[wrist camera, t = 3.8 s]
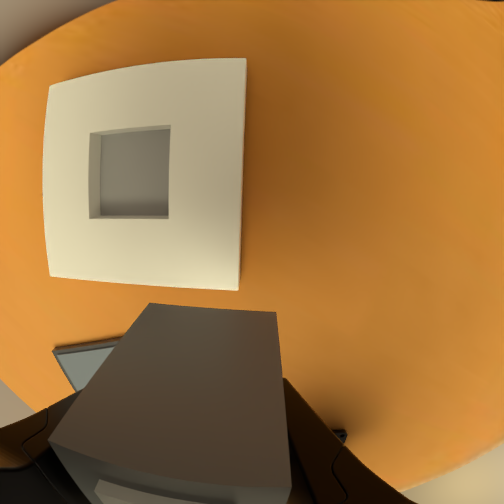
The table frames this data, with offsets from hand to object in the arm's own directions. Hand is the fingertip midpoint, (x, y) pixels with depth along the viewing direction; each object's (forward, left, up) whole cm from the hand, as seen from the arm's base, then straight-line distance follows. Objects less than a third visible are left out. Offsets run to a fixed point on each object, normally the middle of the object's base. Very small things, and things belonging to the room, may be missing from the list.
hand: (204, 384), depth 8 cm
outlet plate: (+6, +7, -12) cm, 15 cm away
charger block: (0, 0, -1) cm, 1 cm away
